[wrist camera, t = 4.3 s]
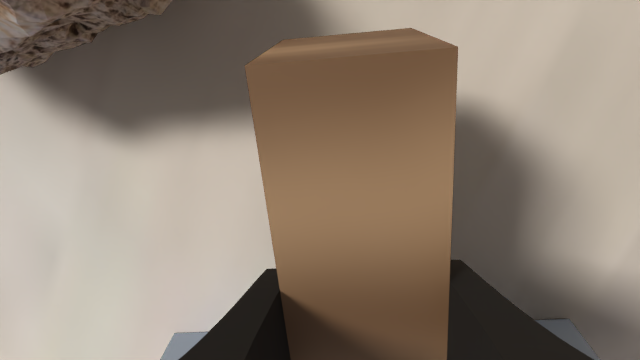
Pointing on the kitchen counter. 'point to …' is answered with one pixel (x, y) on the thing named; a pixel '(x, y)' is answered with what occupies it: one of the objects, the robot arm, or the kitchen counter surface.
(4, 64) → the coral
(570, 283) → the kitchen counter surface
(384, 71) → the brown block
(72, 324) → the kitchen counter surface
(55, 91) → the kitchen counter surface
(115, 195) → the kitchen counter surface
